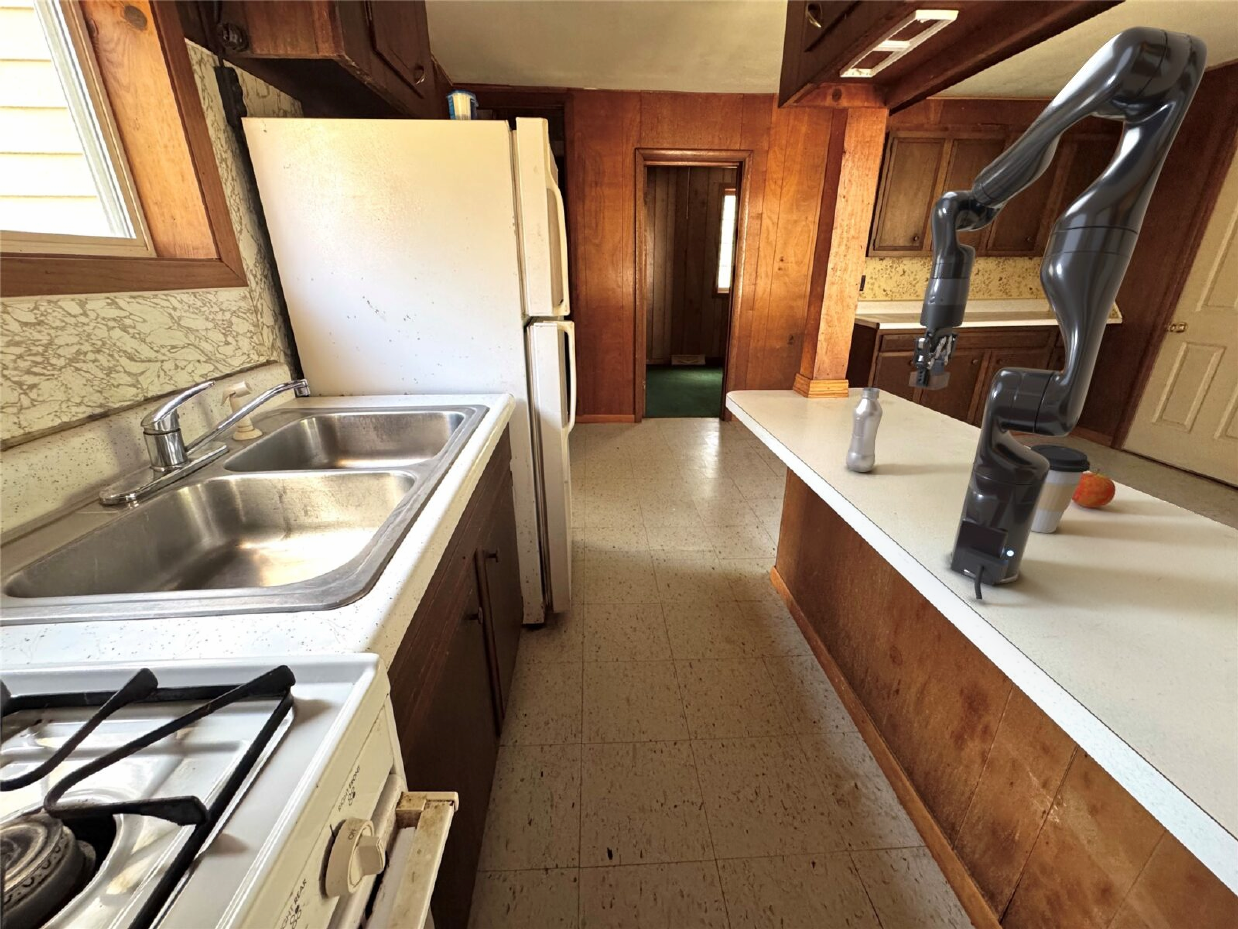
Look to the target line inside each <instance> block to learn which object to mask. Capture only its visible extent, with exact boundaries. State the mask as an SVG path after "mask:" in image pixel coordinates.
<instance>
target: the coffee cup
mask: <svg viewBox="0 0 1238 929" xmlns="http://www.w3.org/2000/svg"><path fill="white" fill-rule="evenodd" d="M1030 449H1031V450H1033V451H1035V452H1037V453H1039V454H1041V455H1042V456H1044V457H1045V458H1046V459H1047V460H1048V461H1049V464H1050V469H1049V473H1048V476H1047V479H1046V483H1045V486H1044V489H1043V492H1042V496H1041V498H1040V502H1039V505H1038V508H1037V512H1036V515H1035V518H1034V521H1033V525H1032V528H1031V531H1032V532H1035V533H1042V534H1052V533H1054V532H1055V531H1056V530H1057V528H1058V526H1059V524H1060V521H1061V519H1062V517H1063V516H1064V513H1065V512H1066V510H1067V509H1068V507H1070V504H1071V502H1072V497H1073V495H1074V493H1075V491H1076V489H1077V487H1078V485H1079V483H1080V478H1081V476H1082V474H1083V473H1086V472H1088V471H1090V469H1091V467H1090V466H1091V463H1090V461H1089V460H1088V455H1087V454H1086V453H1085V452H1083V451H1081V450H1078V449H1075V448H1072V447H1067V446H1062V445H1055V444H1036V445H1035V444H1034V445H1032V446H1031V447H1030Z"/></svg>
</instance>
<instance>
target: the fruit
mask: <svg viewBox="0 0 1238 929" xmlns="http://www.w3.org/2000/svg"><path fill="white" fill-rule="evenodd" d="M1100 471H1101V469H1100V468H1097V470H1096V472H1083V474H1082V476H1081V478H1080V483H1079V485H1078V487H1077V489H1076V491H1075V493H1074V495H1073V497H1072V499H1071V501H1073V502H1074V503H1075V504H1077V505H1078V506H1081V507H1082V508H1083V507H1084V508H1085V509H1086V508H1087V509H1091V508H1100V507H1103V506H1106V505H1107V504H1109V503H1111V501H1113V499H1114V498H1115V495H1116V485H1115V483H1114V481H1113V480H1112V479H1111V478H1109V477H1108V476H1106V475H1104V474H1103V473H1101V472H1100ZM1099 472H1100V473H1099Z"/></svg>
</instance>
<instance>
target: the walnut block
mask: <svg viewBox="0 0 1238 929" xmlns="http://www.w3.org/2000/svg"><path fill="white" fill-rule="evenodd" d="M917 373H918V370H915V371H911V372H910V375H909V379H908V380H909V381H908V387H911V388H918V389H923V390H928V391H929V390H930V391H938V390H941V389H943V388H947V387H948V385H949V380H950V375H951V372H949V371H944V372H942V371H935V370H931V372H930V376H929V381H928V385H927V386H926V387H920V386H916V378H917Z"/></svg>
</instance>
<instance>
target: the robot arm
mask: <svg viewBox="0 0 1238 929" xmlns="http://www.w3.org/2000/svg"><path fill="white" fill-rule="evenodd" d="M1208 55H1209V47H1208V45H1207V42H1206V41H1205V40H1204V39H1203V38H1202V37H1199V36H1197V35H1193V34H1192V33H1191V34H1190V33H1186V32H1178V31H1174V30H1167V29H1162V28H1158V27H1153V26H1144V25H1143V26H1141V25H1140V26H1139V25H1137V26H1131V27H1127V28H1126V29H1124V30H1122V31H1119V33H1118V34H1115V35H1114V36H1113V37H1112V38H1110V39H1109V40H1108V41H1107V42H1106V43H1104V44H1103V45H1102V46H1101V47H1100V48H1099V49H1098V50H1097V51H1095V53H1094V54H1093V55H1092V56H1091V57H1090V58H1089V59H1088V60H1087V61H1086V62H1085V63H1084V64H1083V65H1082V67H1081V68H1080V69H1079V70H1078V71H1077V72H1076V73H1075V74H1074V76H1072V78H1071V79H1070V80H1069V81H1068V82H1067V83H1066V84H1065V86H1063V88H1062V89H1061V90H1060V91H1059V92H1058V94H1056V95H1055V97H1054V98H1053V99H1052V100H1051V101H1050V102H1049V104H1048V105H1047V106H1046V107H1045V108H1044V109H1043V111H1041V113H1040V114H1039V115H1038V116H1037V117H1036V118H1035V120H1034V121H1033V122H1032V123H1031V124H1030V126H1029V127H1028V128H1027V129H1026V130H1025V131H1024V132H1023V133H1022V134H1021V136H1019V138H1017V140H1016V141H1015V142H1013V143H1012V144H1011V145H1010V146H1009V147H1008V148H1006V150H1004V151H1003V152H1002V153H1001V154H1000V155H998V156H997V157H996V158H995V159H994V160H993V161H991V162H990V163H989V164H988V165H987V166H985V168H983V169H982V170H981V171H980V172H979V173H978V175H976V177H975V178H974V180H973V182H972V184H971V190H970V189H969V190H948V191H946V192H943V193H942V194H941V195H940V196H939V197H938V198H937V199H936V201H935V202H934V204H933V206H932V208H931V211H930V216H929V217H930V218H929V227H930V234H931V247H932V262H931V267H930V272H929V278H928V282H927V284H926V287H925V292H924V296H923V303H922V306H921V313H920V317H919V318H920V319H919V325H920V326H922V327H925V328H926V329H925V332H924V335H923V336H922V337H916V338H915V340H914V350H913V358H912V359H913V360H912V361H913V362H912V366H913V367H916V368H917V371H918V373H917V378H916V386H920V387H926V386H927V385H928V381H929V376H930V372H931V370H935V371H942V372H945V367H946V366H947V364H948V362H951V361H952V360H953V357H954V354H955V349H956V347H957V343H958V339H959V336H960V333H959V332H955V331H953V328H959V327H961V326H962V325H963V322H964V317H965V313H966V308H967V304H968V303H967V302H968V299H969V294H970V286H971V277H972V272H973V269H974V263H975V258H976V248H975V247H974V246H972V245H968V244H963V243H961V242H960V241H959V237H958V232H975V231H978V230H981V229H983V228H986V227H987V226H989V225H990V224H991V223H992V222H993V221H994V220H995V219H996V218H997V216H998V215H999V214H1000V213H1001V211H1002V210H1003V209H1004V208H1005V206H1006V205H1007V204H1008V202H1009V201H1010V200H1012V199H1013V198H1015V197H1016V196H1018V195H1019V194H1021V193H1022V192H1023V191H1024V190H1026V189H1027V188H1029V187H1030V186H1032V184H1034V183H1035V182H1036V181H1037V180H1038V179H1039V178H1041V177H1042V175H1043V174H1044V173H1045V172H1046V170H1048V168H1049V166H1050V165H1051V163H1052V162H1053V159H1054V157H1055V153H1056V151H1057V148H1058V145H1059V143H1060V140H1061V138H1062V136H1063V134H1064V133H1065V132H1066V131H1067V130H1068V129H1070V128H1071V127H1073V126H1074V125H1075V124H1077V123H1078V122H1080V121H1081V120H1083V119H1085V118H1087V117H1089V116H1093V117H1096V118H1101V119H1106V120H1111V121H1116V122H1122V131H1121V135H1120V138H1119V141H1118V144H1117V146H1116V148H1115V150H1114V153H1113V155H1112V157H1111V159H1110V161H1109V163H1108V165H1107V166H1105V169H1104V170H1103V171H1102V172H1101V173H1100V175H1099V176H1097V178H1096V179H1095V180H1094V181H1093V182H1091V184H1090V185H1089V186H1088V187H1086V188H1085V189H1084V190H1083V191H1082V192H1081V193H1080V194H1079V195H1078V196H1077V197H1076V198H1074V199H1073V201H1071V203H1070V204H1069V205H1068V206H1067V207H1066V208H1065V209H1064V210H1063V212H1062V213H1061V214H1060V215H1059V216H1058V217H1057V219H1056V221H1055V222H1054V224H1053V226H1052V228H1051V230H1050V233H1049V236H1048V240H1047V243H1046V246H1045V249H1044V253H1043V256H1042V259H1041V261H1040V265H1039V268H1038V279H1039V285H1040V288H1041V290H1042V292H1043V295H1044V297H1045V299H1046V301H1047V303H1048V306H1049V307H1050V310H1051V311H1052V313H1053V315H1054V318H1055V320H1056V322H1057V324H1058V325H1057V326H1058V328H1059V331H1060V335H1061V338H1062V342H1063V346H1064V347H1063V348H1064V365H1063V369H1062V370H1054V369H1044V368H1034V367H1021V366H1004V367H1002V368H1000V369H999V370H998V371H997V372H996V373H995V374H994V376H993V378H992V379H991V381H990V384H989V388H988V389H987V390H988V391H987V394H986V399H985V404H984V410H983V414H982V415H983V416H982V421H981V422H982V423H981V427H980V432H979V433H980V434H979V438H978V442H977V446H976V451H975V457H974V461H973V464H972V469H971V474H970V477H969V481H968V484H967V489H966V492H965V496H964V501H963V505H962V509H961V512H960V517H959V521H958V525H957V529H956V532H955V536H954V542H953V546H952V550H951V552H950V555H949V559H948V560H949V563H950V567H949V569H950V570H951V571H955V572H957V573H959V574H961V575H964V576H966V577H969V578H972V579H974V593H975V599H976V600H981V601H982V600H983V595H982V594H983V593H982V585H981V584H982V583H984V584H986V585H988V586H993V585H995V584H1009V583H1013V582H1014V581H1016V580H1017V579H1018V576H1019V573H1020V567H1021V564H1022V561H1023V557H1024V555H1025V550H1026V548H1027V545H1028V541H1029V538H1030V534H1031V531H1032V530H1031V528H1032V525H1033V521H1034V518H1035V515H1036V512H1037V508H1038V505H1039V502H1040V498H1041V496H1042V492H1043V489H1044V486H1045V483H1046V479H1047V476H1048V473H1049V469H1050V464H1049V461H1048V460H1047V459H1046V458H1045V457H1044V456H1042V455H1041V454H1039V453H1037V452H1035V451H1033V450H1031V448H1029V447H1027V446H1026V445H1024V444H1023V443H1022V442H1020V441H1018V439H1017V438H1015V437H1014V436H1013V435H1012V433H1011V431H1012V432H1018V433H1024V434H1029V435H1036V436H1042V437H1047V438H1053V439H1054V438H1055V439H1062V438H1065V437H1067V436H1068V435H1070V433H1072V431H1073V430H1074V428H1075V427H1076V425H1077V423H1078V421H1079V419H1080V417H1081V414H1082V412H1083V408H1084V405H1085V402H1086V398H1087V396H1088V391H1089V388H1090V384H1091V380H1092V377H1093V374H1094V370H1095V366H1096V362H1097V358H1098V354H1099V350H1100V347H1101V343H1102V340H1103V337H1104V336H1103V335H1104V332H1105V329H1106V325H1107V323H1108V320H1109V317H1110V314H1111V311H1112V310H1113V306H1114V304H1115V301H1116V298H1117V296H1118V293H1119V290H1120V287H1121V286H1122V283H1123V280H1124V277H1125V275H1126V272H1127V269H1128V267H1129V265H1130V262H1131V259H1132V256H1133V253H1134V251H1135V248H1136V245H1137V242H1138V240H1139V236H1140V232H1141V229H1142V225H1143V223H1144V218H1145V215H1146V212H1147V209H1148V206H1149V204H1150V201H1151V198H1152V195H1153V194H1154V190H1155V187H1156V184H1157V182H1158V179H1159V177H1160V173H1161V172H1162V168H1163V166H1164V163H1165V161H1166V158H1167V156H1168V153H1169V151H1170V149H1171V148H1172V145H1173V142H1174V140H1175V138H1176V136H1177V134H1178V132H1179V130H1180V127H1181V125H1182V123H1183V120H1184V119H1185V117H1186V114H1187V113H1188V110H1189V108H1190V107H1191V103H1192V101H1193V99H1194V97H1195V95H1196V92H1197V90H1198V88H1199V87H1200V86H1199V85H1200V83H1201V82H1202V81H1201V80H1202V78H1203V75H1204V73H1205V70H1206V66H1207V62H1208V57H1209V56H1208Z"/></svg>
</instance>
